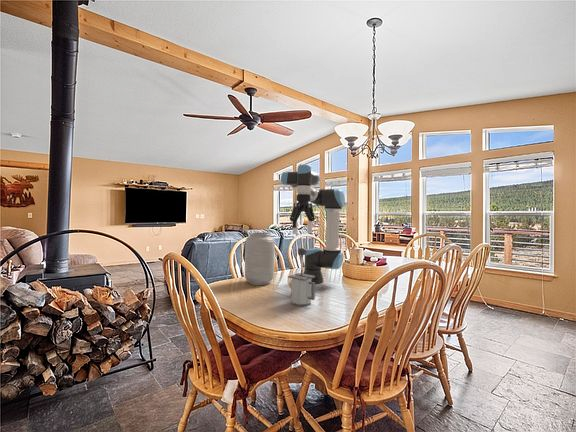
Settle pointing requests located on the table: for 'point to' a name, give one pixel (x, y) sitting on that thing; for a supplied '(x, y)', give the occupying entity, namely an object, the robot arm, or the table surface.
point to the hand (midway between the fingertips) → (302, 233)
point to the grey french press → (302, 289)
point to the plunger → (302, 252)
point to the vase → (259, 258)
